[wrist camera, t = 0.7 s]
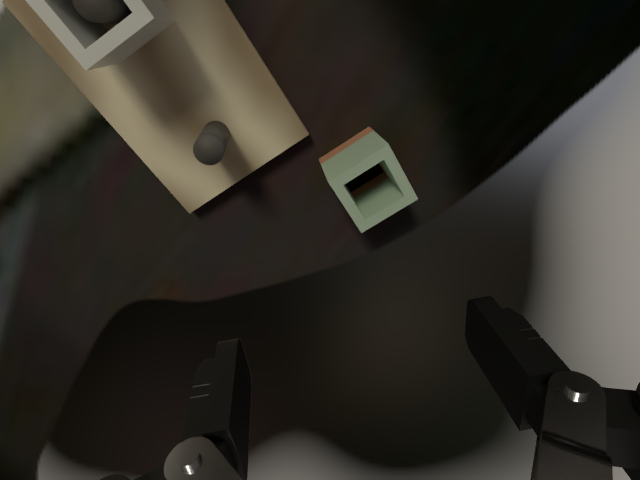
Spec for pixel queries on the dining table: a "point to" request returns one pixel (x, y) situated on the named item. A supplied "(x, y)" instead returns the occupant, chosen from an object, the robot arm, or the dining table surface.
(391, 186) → the sage sleeve
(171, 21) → the grey sleeve
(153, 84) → the pin board
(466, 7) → the dining table surface
